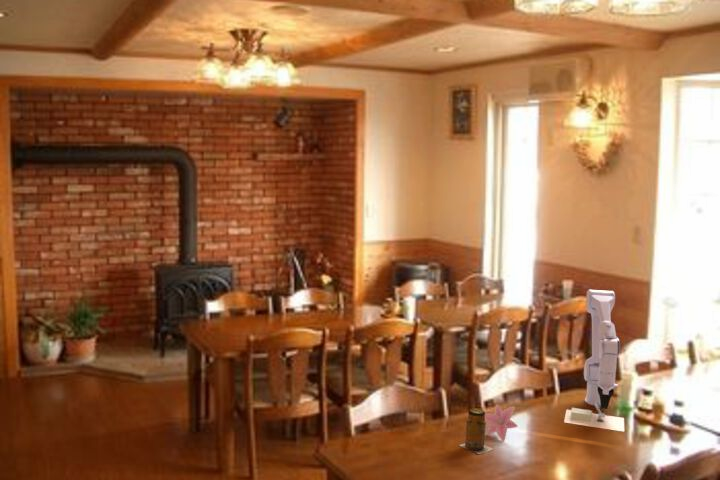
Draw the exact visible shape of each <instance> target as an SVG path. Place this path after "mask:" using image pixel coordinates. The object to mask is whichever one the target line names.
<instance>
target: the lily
mask: <svg viewBox="0 0 720 480" xmlns="http://www.w3.org/2000/svg"><path fill="white" fill-rule="evenodd" d="M515 409H516V407H515V405H514V406H510V407H507V408H505V409H501V406H500V405H498V404H496V405H495V407H494V412H493V413H492V412H491V413H485V420H486V423H487V424H488V425H489V427H488V429H487V432H486V436H489V435H492V434H494V433H496V434H497V436H498V437H499V439H500V440H501V441H502V442H505V440H506V437H507V432H508V429H514V428H517V427H518V425H517V423H516V422H514V420H511V419H512V415H513V414H514V411H515Z"/></svg>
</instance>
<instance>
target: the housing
mask: <svg viewBox="0 0 720 480" xmlns="http://www.w3.org/2000/svg"><path fill="white" fill-rule="evenodd" d="M571 410H572V409H566V410H565V415H564V420H563V421H564V422H563V423H565V424H567V423H568V424H571V425H580V426H583V427H584V426H586V427H589V428H590V427H591V428H592V427H593V428H597V429H599V428H600V429H604V430H612V431H618V432H623V433H624V432H625V418H624V417H619V416H613V415H606V414H605V418H604V417H603V421H598V414H599V413H594V412H592V419H591V422H588V421H581V420H574V419H571Z"/></svg>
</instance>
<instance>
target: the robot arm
mask: <svg viewBox="0 0 720 480" xmlns="http://www.w3.org/2000/svg"><path fill="white" fill-rule="evenodd" d="M585 299H586V301H585V302H586V303H585V304H586V305H585V308H586V312H587V313H589V314H590V315H591V316H590V317H591V356H590V357H589V358H587V359H586V360H585V362H584V367H583V377H584V378H583V379H584V380H585V382H586V396H585V398H584V401H585V403H586V404H588V405H591V406H594V407H595V402H599V404H600V406H601V407H602V409H603V410H608V407H609V404H610V401H611V398H612V397H613V395H614V394H615V388H618V387H619V384H618V383H616V375H617V374H616V373H617V372H616V371H617V364H618V363H617V360H618V356H619V355H620V352H621V343H620V339H619V337H618V336H617V332H616V327H615V324H614V323H613V322H612V321H611V320H612V319H611V318H612V317H611V313H612V311H613V308H614V307H615V304H616V303H615V302H616V294H615V292H614V291H613V290H597V289H588V290H587V291H586V297H585Z"/></svg>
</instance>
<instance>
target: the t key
mask: <svg viewBox="0 0 720 480" xmlns="http://www.w3.org/2000/svg"><path fill="white" fill-rule="evenodd" d="M594 408H595V409H596V410H597V412H598V413H597V414H598V421H603V417H604V418H605V415H606V412H605V411H604V408H602V407H601V406H600V404H599V402H595V406H594Z"/></svg>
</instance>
